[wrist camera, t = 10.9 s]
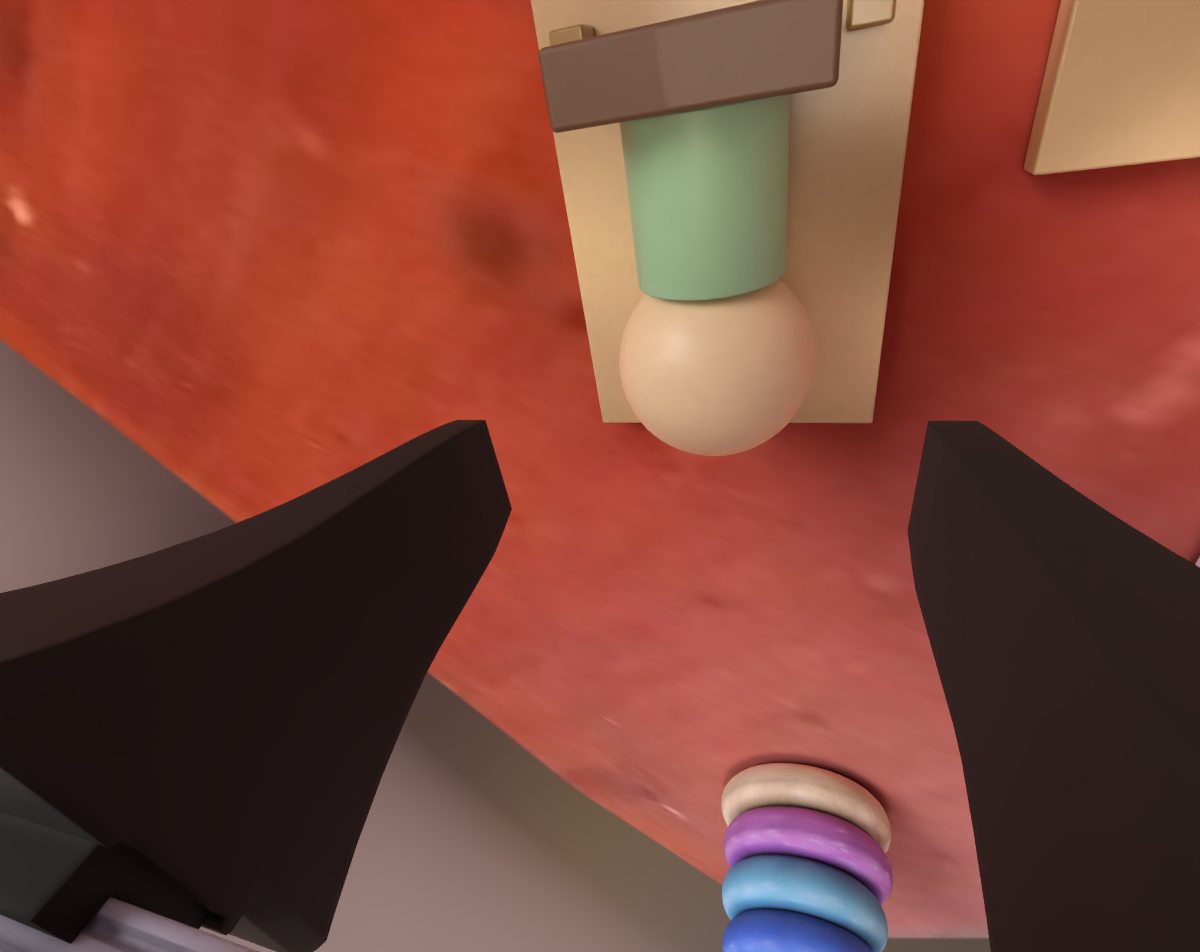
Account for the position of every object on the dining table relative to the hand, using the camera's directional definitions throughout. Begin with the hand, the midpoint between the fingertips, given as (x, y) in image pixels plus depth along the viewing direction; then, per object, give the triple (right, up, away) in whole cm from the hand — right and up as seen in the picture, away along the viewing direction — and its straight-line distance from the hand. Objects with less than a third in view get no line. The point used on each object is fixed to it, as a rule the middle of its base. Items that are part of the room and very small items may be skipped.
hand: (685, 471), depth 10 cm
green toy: (+2, +6, +5) cm, 8 cm away
